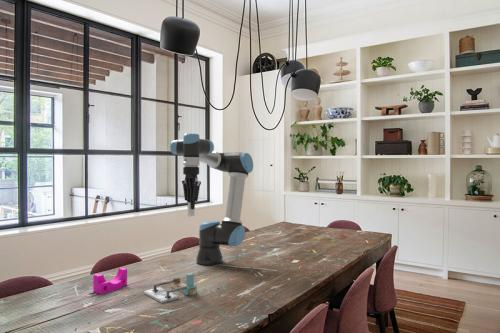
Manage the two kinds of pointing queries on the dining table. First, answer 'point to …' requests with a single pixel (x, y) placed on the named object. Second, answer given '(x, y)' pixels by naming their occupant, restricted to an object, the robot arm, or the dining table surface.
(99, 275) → the toy block
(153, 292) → the bolt plate
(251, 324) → the dining table surface
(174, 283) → the rail
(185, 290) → the sliding trammel head
